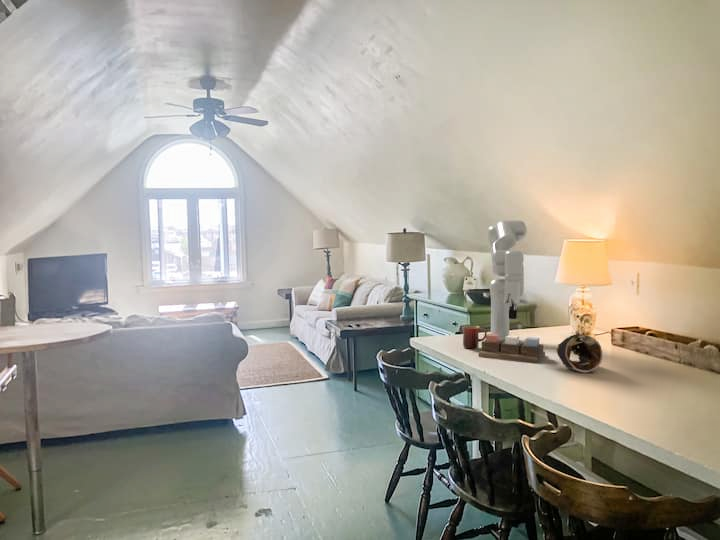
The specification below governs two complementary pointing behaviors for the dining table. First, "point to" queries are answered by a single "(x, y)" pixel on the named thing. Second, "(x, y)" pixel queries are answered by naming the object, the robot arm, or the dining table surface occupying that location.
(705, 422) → the dining table surface
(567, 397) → the dining table surface
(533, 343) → the slate key
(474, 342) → the mug
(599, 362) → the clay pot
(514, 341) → the ivory key
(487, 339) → the brick key
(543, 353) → the keypad
